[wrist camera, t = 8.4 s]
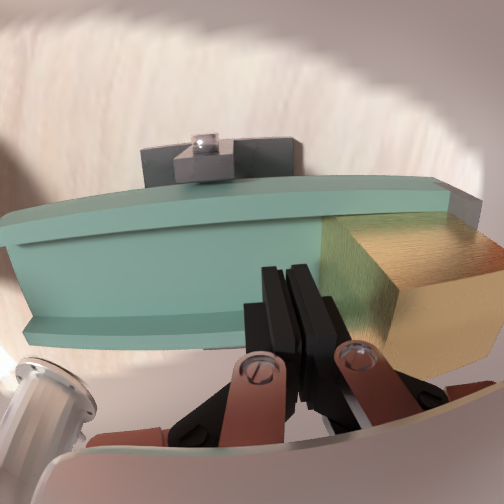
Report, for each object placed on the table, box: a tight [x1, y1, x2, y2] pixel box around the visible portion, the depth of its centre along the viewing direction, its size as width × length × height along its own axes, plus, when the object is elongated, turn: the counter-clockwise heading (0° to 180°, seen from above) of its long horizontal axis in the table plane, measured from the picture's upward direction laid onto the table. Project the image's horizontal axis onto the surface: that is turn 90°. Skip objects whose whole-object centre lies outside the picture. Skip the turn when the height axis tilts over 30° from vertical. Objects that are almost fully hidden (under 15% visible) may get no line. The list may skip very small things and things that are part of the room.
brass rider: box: [318, 211, 504, 381], centre depth 11 cm, size 4×6×7 cm
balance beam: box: [0, 175, 483, 350], centre depth 13 cm, size 7×24×4 cm, turn 93°
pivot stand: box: [140, 133, 293, 350], centre depth 18 cm, size 12×10×8 cm
